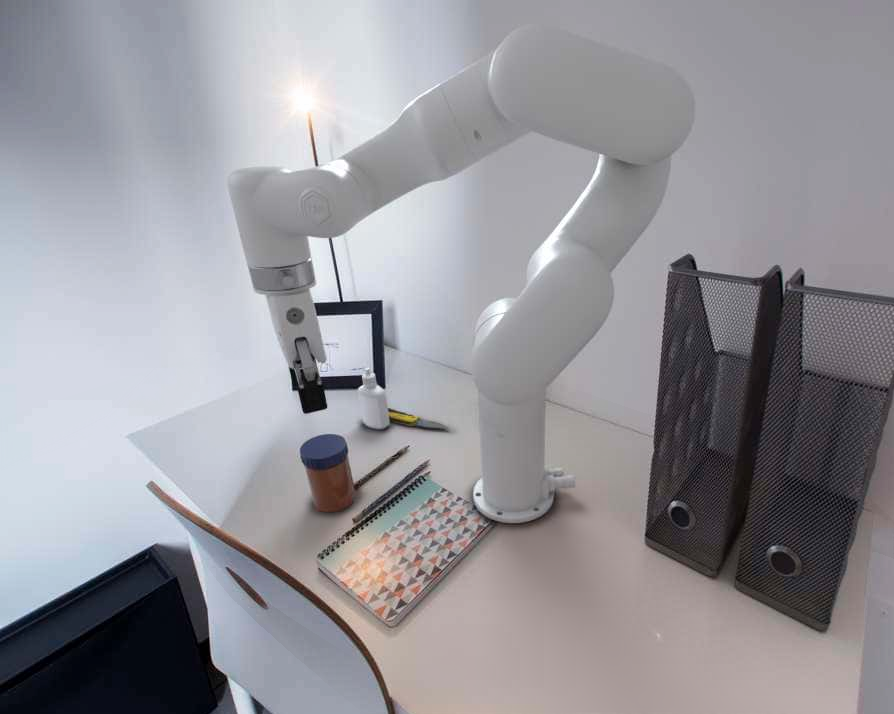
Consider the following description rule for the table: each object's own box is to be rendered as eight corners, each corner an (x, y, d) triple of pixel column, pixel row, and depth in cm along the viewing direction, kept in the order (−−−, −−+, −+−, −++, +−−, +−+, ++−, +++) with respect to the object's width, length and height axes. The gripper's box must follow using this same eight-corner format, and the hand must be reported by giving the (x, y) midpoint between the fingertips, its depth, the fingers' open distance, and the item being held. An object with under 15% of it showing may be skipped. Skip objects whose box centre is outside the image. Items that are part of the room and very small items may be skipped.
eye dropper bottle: (370, 433, 100) (360, 377, 94) (361, 420, 104) (351, 366, 99) (392, 427, 102) (383, 371, 96) (382, 414, 106) (374, 360, 100)
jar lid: (345, 439, 84) (343, 429, 83) (351, 463, 78) (349, 452, 77) (300, 450, 81) (297, 439, 81) (303, 474, 76) (301, 463, 75)
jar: (352, 482, 87) (342, 433, 83) (358, 505, 82) (348, 454, 78) (312, 492, 85) (299, 442, 81) (316, 516, 80) (303, 465, 76)
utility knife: (454, 420, 101) (447, 428, 99) (454, 426, 102) (447, 434, 99) (383, 406, 107) (374, 413, 104) (383, 411, 107) (375, 418, 105)
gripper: (327, 288, 61) (350, 418, 69) (302, 255, 74) (324, 367, 83) (258, 299, 58) (291, 433, 67) (245, 263, 72) (274, 378, 80)
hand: (309, 396), depth 75 cm, fingers open, 8 cm apart
